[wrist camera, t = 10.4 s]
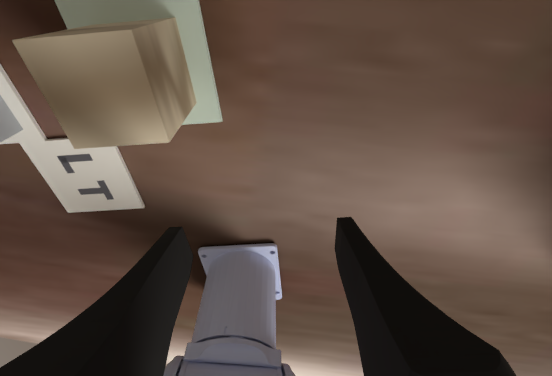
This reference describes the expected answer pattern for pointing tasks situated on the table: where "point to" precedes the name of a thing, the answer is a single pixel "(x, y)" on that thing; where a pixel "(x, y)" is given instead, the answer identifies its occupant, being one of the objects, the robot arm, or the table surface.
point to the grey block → (7, 122)
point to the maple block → (113, 81)
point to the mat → (186, 9)
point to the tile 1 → (19, 113)
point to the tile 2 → (85, 176)
